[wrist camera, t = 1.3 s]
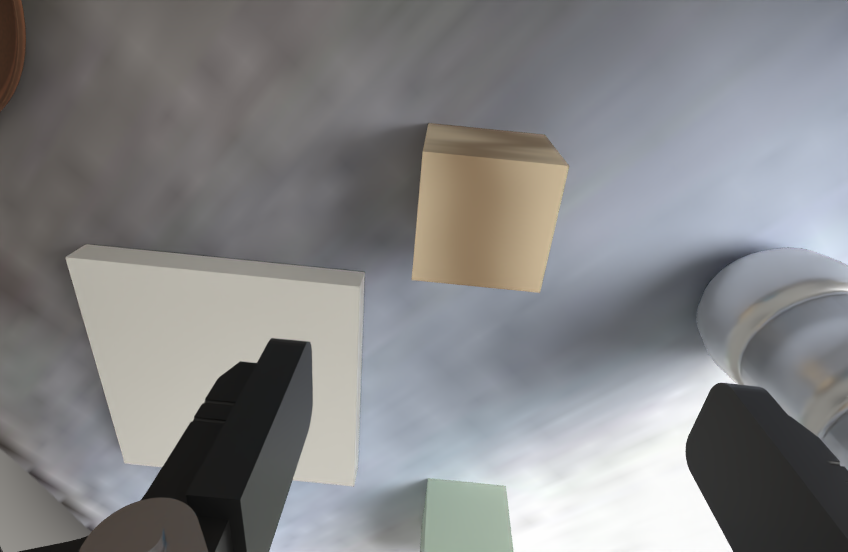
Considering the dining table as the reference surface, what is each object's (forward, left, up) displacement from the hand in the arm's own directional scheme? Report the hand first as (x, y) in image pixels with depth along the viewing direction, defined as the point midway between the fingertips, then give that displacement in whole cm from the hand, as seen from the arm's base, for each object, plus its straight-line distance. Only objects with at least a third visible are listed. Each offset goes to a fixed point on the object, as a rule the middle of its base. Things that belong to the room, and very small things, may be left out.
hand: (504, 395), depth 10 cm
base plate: (+12, +12, -14) cm, 22 cm away
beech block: (0, 0, -14) cm, 14 cm away
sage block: (-2, +22, -14) cm, 26 cm away
